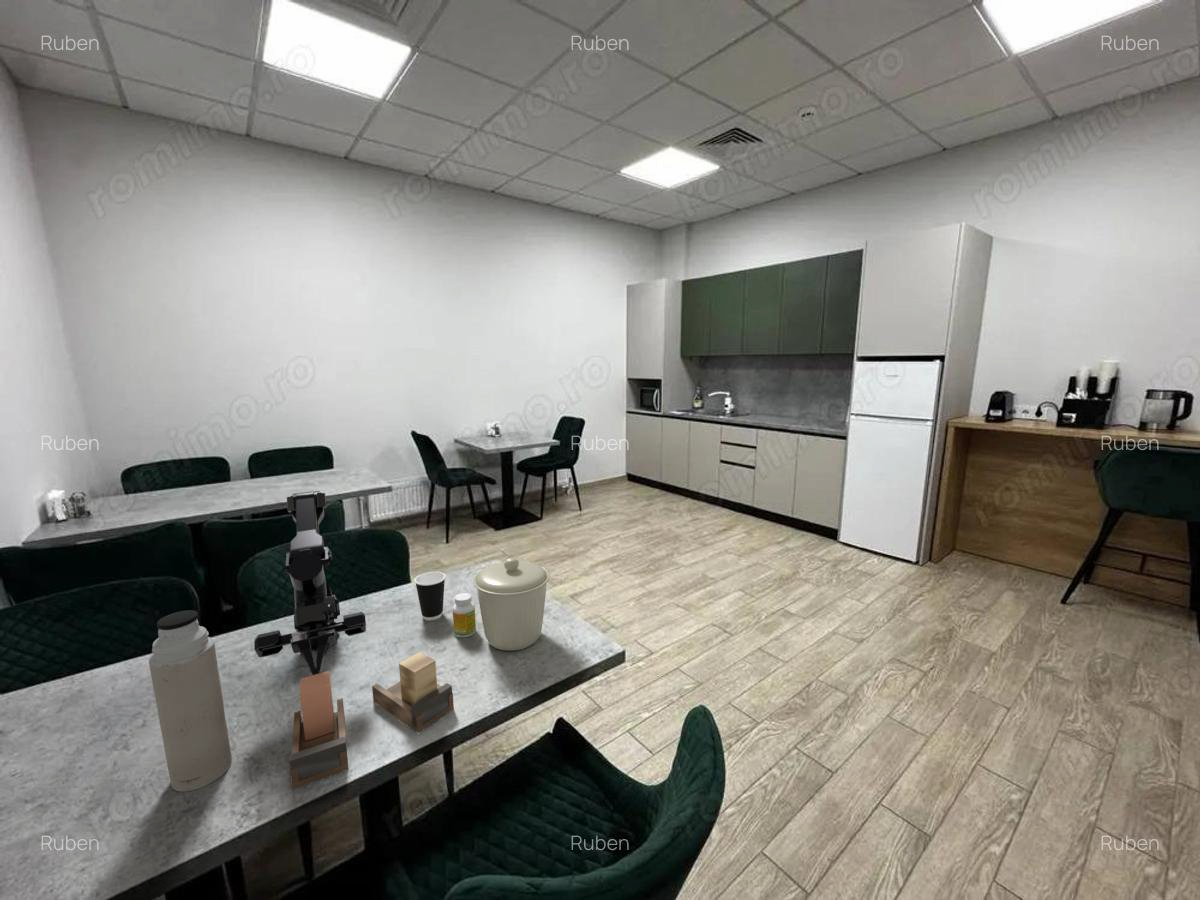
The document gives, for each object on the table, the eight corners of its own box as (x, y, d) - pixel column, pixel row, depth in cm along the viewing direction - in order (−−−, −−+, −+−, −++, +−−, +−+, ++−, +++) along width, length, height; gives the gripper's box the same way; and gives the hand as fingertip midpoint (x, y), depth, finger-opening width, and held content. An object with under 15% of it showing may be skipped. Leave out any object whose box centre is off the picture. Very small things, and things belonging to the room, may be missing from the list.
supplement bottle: (469, 639, 121) (468, 602, 119) (449, 636, 122) (447, 600, 120) (479, 627, 126) (477, 592, 124) (460, 625, 127) (458, 590, 125)
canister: (564, 644, 118) (562, 562, 115) (493, 670, 108) (489, 581, 105) (530, 613, 133) (528, 539, 129) (465, 633, 123) (461, 554, 119)
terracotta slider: (305, 723, 91) (300, 678, 89) (334, 714, 93) (329, 670, 91) (305, 740, 86) (299, 694, 85) (334, 731, 89) (329, 685, 87)
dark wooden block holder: (296, 729, 91) (293, 705, 90) (344, 714, 95) (341, 691, 94) (292, 789, 78) (289, 762, 77) (348, 769, 82) (345, 743, 81)
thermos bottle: (157, 793, 77) (127, 631, 72) (194, 754, 85) (169, 605, 80) (211, 790, 78) (184, 629, 73) (242, 751, 86) (220, 603, 81)
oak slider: (402, 705, 95) (398, 663, 94) (422, 693, 99) (419, 651, 97) (417, 716, 92) (414, 672, 91) (438, 702, 96) (435, 660, 95)
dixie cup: (453, 616, 132) (451, 577, 130) (424, 627, 126) (422, 587, 124) (439, 605, 137) (437, 568, 135) (411, 615, 132) (409, 577, 130)
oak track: (373, 701, 98) (371, 679, 98) (408, 680, 105) (407, 659, 104) (418, 733, 90) (416, 709, 89) (453, 708, 96) (452, 686, 95)
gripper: (249, 596, 90) (249, 683, 82) (361, 574, 99) (370, 651, 92) (258, 616, 98) (259, 698, 91) (361, 595, 107) (370, 667, 100)
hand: (316, 678), depth 93 cm, fingers closed
